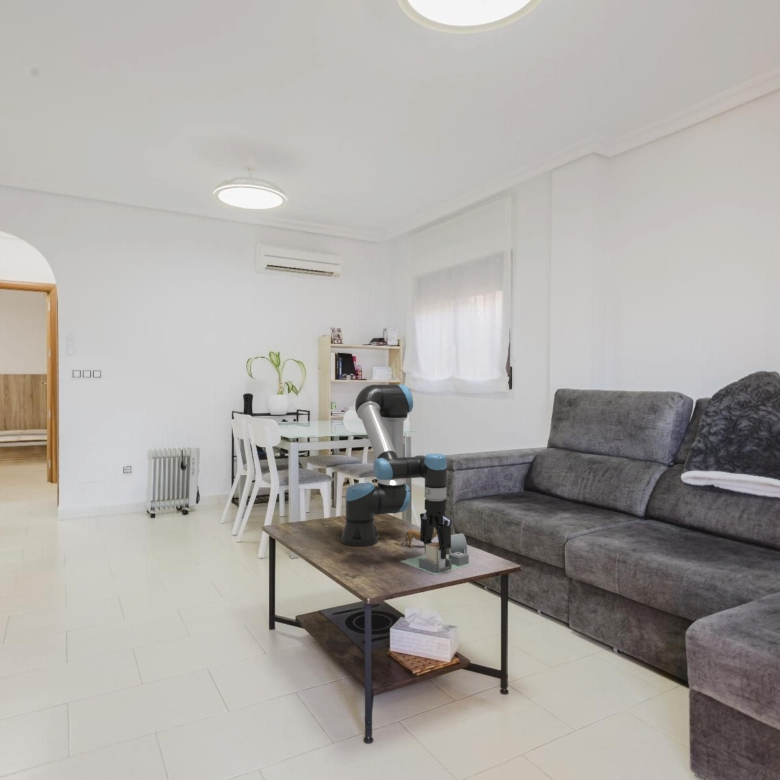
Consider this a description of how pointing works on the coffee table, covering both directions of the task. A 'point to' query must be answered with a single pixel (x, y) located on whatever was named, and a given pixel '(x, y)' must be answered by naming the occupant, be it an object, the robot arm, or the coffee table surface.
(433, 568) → the header
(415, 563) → the board
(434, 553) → the plug
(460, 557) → the fan
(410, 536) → the lion figurine
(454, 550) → the ceramic mug
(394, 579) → the coffee table surface
